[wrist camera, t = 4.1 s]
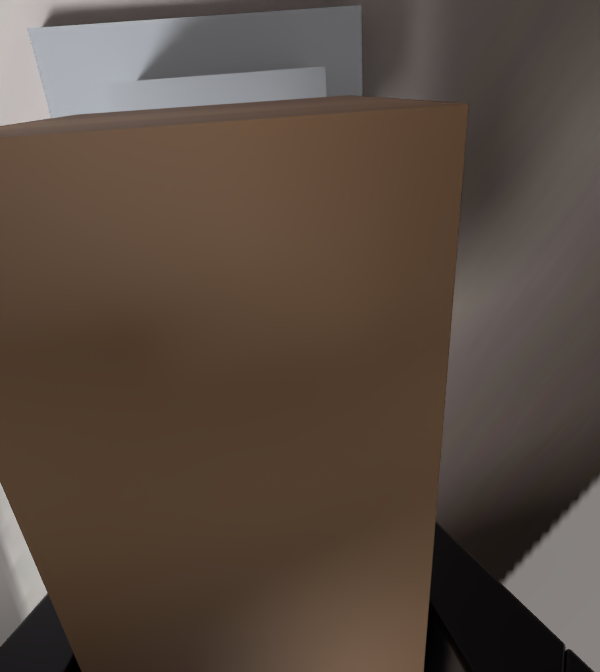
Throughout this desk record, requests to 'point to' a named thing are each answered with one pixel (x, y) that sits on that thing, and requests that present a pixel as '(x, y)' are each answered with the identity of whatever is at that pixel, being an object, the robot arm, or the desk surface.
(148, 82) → the pale grey flat fixture
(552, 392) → the desk surface
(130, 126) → the walnut bar
